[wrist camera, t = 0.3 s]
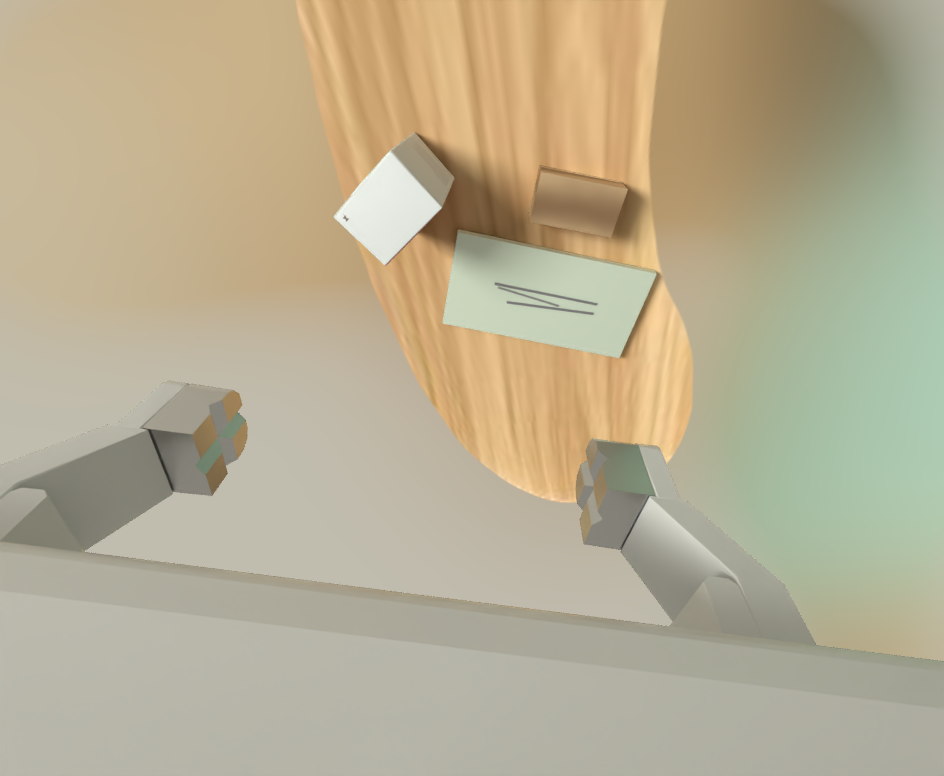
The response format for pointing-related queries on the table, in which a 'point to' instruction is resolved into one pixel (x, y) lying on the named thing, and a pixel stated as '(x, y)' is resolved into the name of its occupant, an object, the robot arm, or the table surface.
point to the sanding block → (576, 201)
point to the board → (544, 294)
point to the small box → (396, 199)
